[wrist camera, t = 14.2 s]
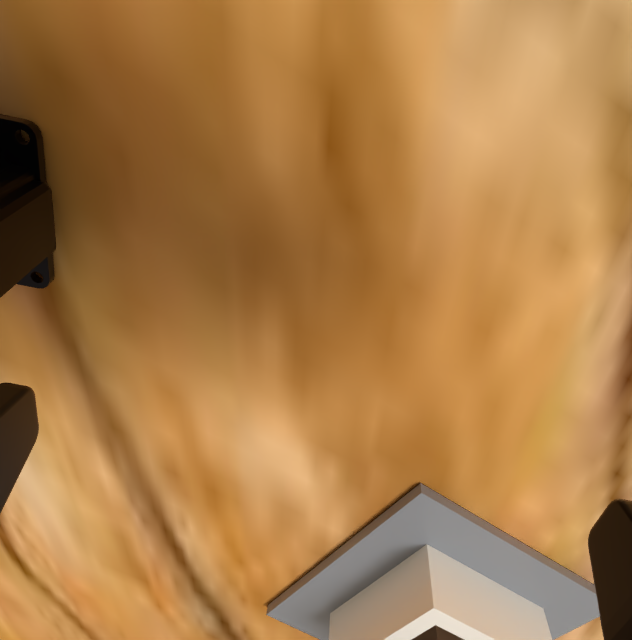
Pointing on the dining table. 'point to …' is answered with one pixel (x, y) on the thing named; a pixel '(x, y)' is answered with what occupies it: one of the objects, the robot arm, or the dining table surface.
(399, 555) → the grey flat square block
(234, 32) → the dining table surface
